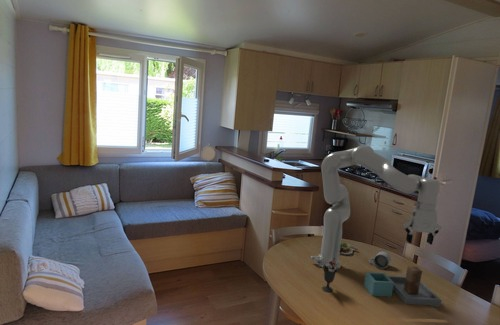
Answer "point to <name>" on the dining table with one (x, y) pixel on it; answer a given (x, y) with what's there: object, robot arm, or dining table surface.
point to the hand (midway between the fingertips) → (419, 242)
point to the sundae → (329, 275)
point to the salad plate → (346, 248)
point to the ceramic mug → (381, 260)
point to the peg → (412, 280)
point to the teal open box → (378, 284)
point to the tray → (423, 296)
